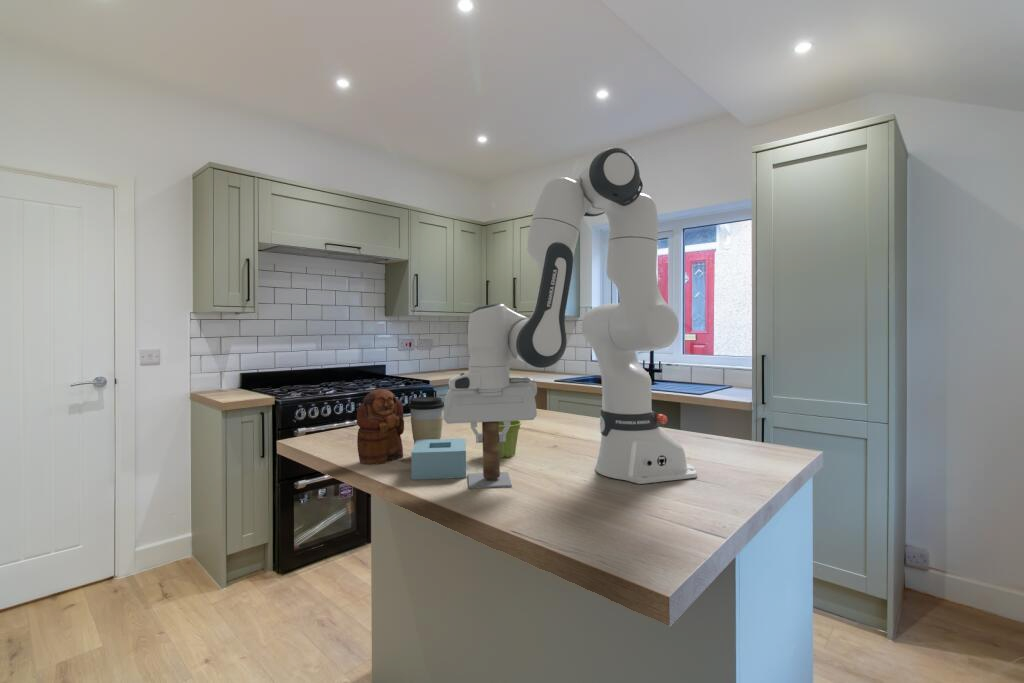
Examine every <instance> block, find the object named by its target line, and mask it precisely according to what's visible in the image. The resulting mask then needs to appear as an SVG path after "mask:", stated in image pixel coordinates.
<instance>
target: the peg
mask: <svg viewBox="0 0 1024 683" xmlns="http://www.w3.org/2000/svg"><path fill="white" fill-rule="evenodd" d="M481 424H482V425H481V427H482V428H481V431H482V432H481V433H482V434H483V438H482V439H483V443H482V468H483V469H482V473H483V477H484V478H487V479H495V478H498V477H500V471H501V470H500V469H501V467H500V464H501V463H500V457H499V421H498V422H481Z"/></svg>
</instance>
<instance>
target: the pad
mask: <svg viewBox="0 0 1024 683" xmlns="http://www.w3.org/2000/svg"><path fill="white" fill-rule="evenodd" d="M467 476H468V489H488V488H489V489H491V488H492V489H493V488H511V487H512V486H513V485H512V481H511V478H510V474H509V472H508V471H504V472H502V471H501V472H500V477H498V478H495V479H487V478H484V477H483V472H479V473H478V472H477V473H475V472H471V473H468V475H467Z"/></svg>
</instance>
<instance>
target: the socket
mask: <svg viewBox="0 0 1024 683" xmlns="http://www.w3.org/2000/svg"><path fill="white" fill-rule="evenodd" d="M466 439H467V438H440V439H428V440H416V442H415V445H414V444H413V448H412V450H411V452H410V453H411V454H410V455H411V480H431V479H434V480H436V479H438V480H439V479H460V478H461V479H463V478H467V445H466V444H467V443H466Z"/></svg>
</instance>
